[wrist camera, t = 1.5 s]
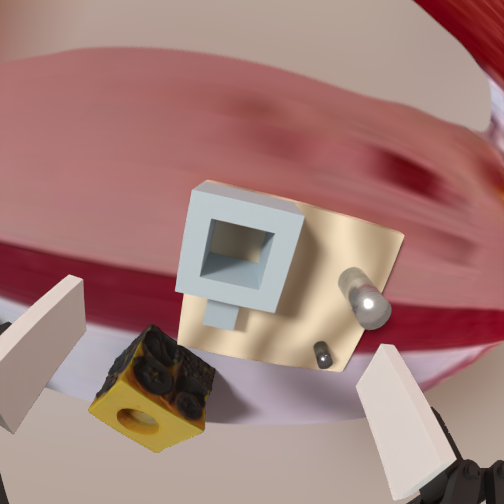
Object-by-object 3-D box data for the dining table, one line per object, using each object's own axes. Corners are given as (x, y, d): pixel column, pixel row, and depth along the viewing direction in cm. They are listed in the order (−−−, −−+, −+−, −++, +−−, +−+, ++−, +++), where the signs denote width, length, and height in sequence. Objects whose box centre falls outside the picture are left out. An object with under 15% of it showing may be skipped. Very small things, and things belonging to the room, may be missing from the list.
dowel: (311, 350, 31) (315, 368, 28) (316, 340, 30) (321, 357, 27) (323, 352, 31) (329, 369, 28) (329, 341, 30) (335, 359, 27)
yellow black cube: (217, 368, 34) (208, 431, 24) (172, 400, 36) (158, 455, 27) (151, 319, 31) (121, 378, 22) (114, 359, 34) (86, 412, 24)
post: (333, 291, 28) (352, 327, 22) (343, 264, 27) (367, 295, 21) (359, 296, 28) (382, 331, 22) (369, 270, 27) (396, 301, 21)
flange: (204, 181, 24) (192, 189, 19) (293, 202, 25) (304, 216, 20) (181, 307, 29) (169, 339, 23) (257, 324, 29) (258, 358, 24)
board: (179, 336, 32) (177, 344, 30) (207, 179, 26) (204, 181, 24) (339, 363, 33) (341, 371, 32) (397, 230, 27) (404, 235, 26)
